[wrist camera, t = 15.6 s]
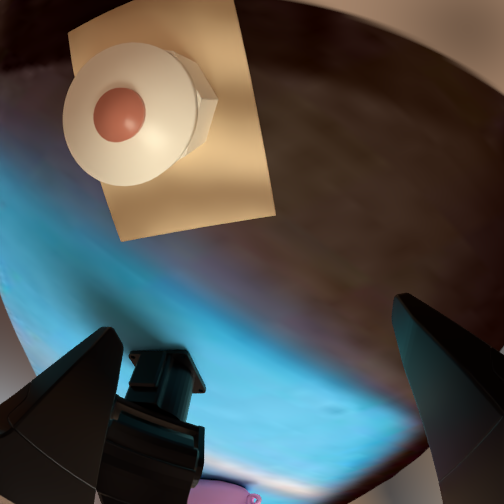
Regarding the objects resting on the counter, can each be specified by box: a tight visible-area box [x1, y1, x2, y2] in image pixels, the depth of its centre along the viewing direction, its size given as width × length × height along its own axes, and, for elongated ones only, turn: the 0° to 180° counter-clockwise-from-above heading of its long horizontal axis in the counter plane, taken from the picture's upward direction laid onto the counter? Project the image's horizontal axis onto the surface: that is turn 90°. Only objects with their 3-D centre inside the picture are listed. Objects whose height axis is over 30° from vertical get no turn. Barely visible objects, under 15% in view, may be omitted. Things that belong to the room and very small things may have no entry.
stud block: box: [68, 0, 276, 242], centre depth 14 cm, size 16×11×5 cm
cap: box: [63, 42, 218, 186], centre depth 13 cm, size 7×7×6 cm
